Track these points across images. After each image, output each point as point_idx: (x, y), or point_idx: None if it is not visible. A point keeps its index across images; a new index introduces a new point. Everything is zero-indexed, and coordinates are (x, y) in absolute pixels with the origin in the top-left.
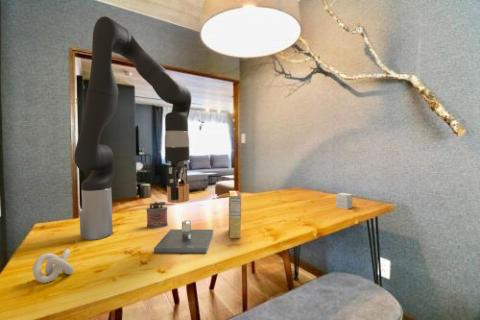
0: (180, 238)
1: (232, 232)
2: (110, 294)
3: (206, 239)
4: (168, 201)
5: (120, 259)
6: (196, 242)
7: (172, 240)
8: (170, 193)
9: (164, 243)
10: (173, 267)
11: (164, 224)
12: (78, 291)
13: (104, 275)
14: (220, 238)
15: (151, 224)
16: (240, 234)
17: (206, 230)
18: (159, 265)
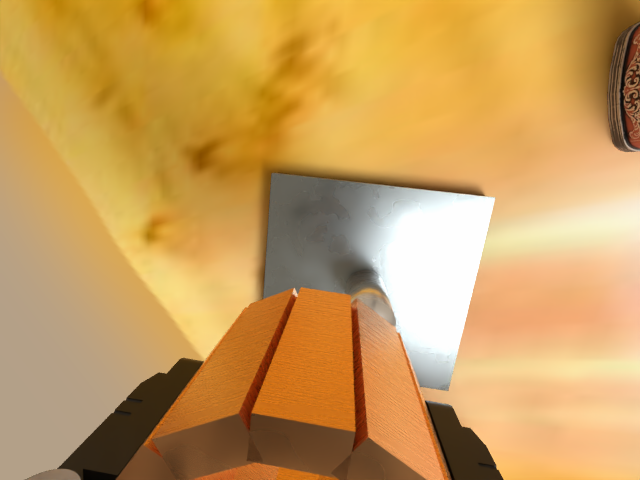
0: (361, 263)
1: None
2: (37, 122)
3: None
4: (249, 307)
5: (228, 53)
6: None
7: (343, 233)
8: (184, 388)
9: (314, 205)
10: (174, 261)
11: (622, 136)
12: (37, 13)
13: (120, 49)
14: None
15: (633, 52)
16: None
17: (442, 363)
18: (185, 216)
